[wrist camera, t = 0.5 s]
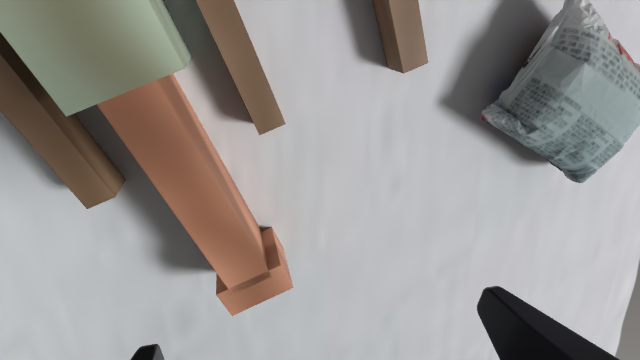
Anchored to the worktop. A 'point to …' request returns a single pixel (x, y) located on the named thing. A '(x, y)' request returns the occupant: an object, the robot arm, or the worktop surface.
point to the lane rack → (243, 64)
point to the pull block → (150, 124)
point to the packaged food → (572, 95)
